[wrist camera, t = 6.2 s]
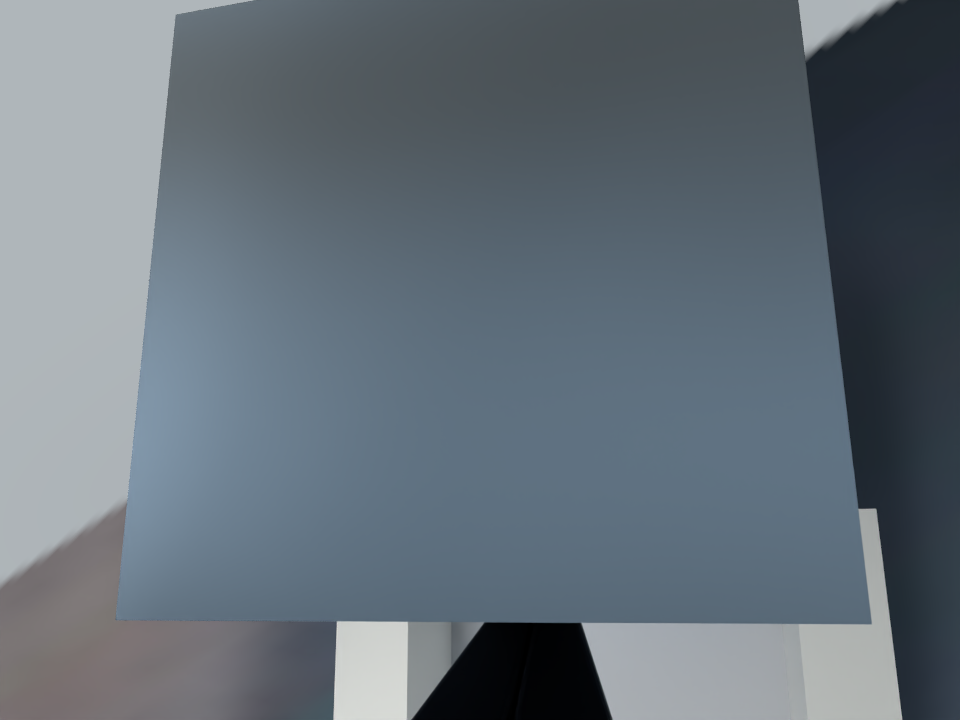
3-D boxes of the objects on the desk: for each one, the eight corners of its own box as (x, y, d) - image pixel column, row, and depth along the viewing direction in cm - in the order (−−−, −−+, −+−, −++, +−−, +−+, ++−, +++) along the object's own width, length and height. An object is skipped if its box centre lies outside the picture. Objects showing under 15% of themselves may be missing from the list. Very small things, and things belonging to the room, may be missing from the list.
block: (755, 594, 14) (872, 625, 5) (469, 595, 15) (115, 619, 6) (731, 313, 16) (787, -96, 6) (468, 332, 17) (175, 15, 7)
